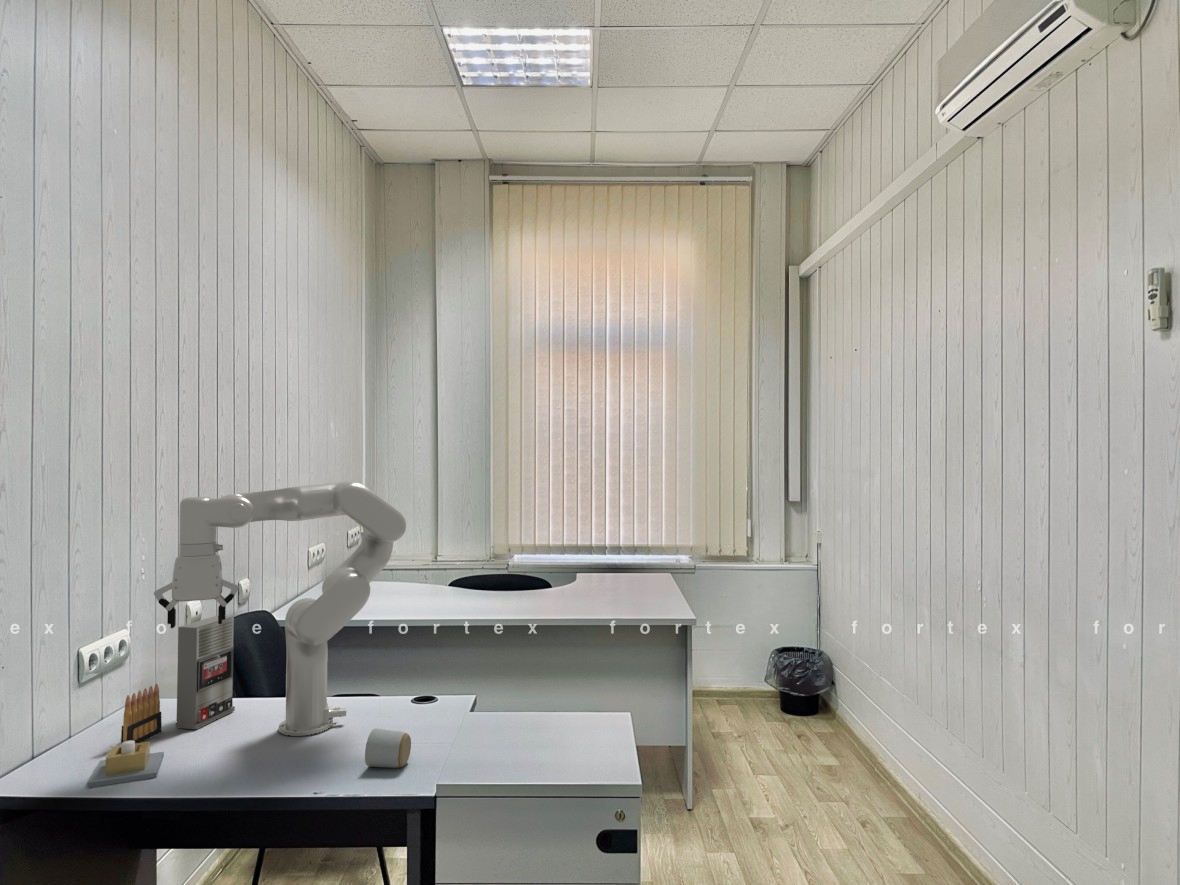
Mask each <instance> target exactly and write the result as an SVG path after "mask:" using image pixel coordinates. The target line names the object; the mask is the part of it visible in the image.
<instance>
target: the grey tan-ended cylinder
mask: <svg viewBox="0 0 1180 885" xmlns="http://www.w3.org/2000/svg"><path fill="white" fill-rule="evenodd" d="M411 749H412V739H411V736H410V734H409V733H407V732H404V731H400V730H390V729H383V728H376V727H375V728H373V729H372V730H371V732H369V735H368V737H367V741H366V744H365V752H364V762H365V765H366V766H367V767H371V768H373V767H374V768H392V769H393V768H394V769H395V768H396V769H399V768H403V767H404V766H405V765H406V764H407V763H408V761H409V758H410V754H411Z"/></svg>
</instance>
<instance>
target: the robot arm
mask: <svg viewBox="0 0 1180 885" xmlns="http://www.w3.org/2000/svg"><path fill="white" fill-rule="evenodd" d="M339 516H347V517H348V518H350V519H351V520H353V521H354V522H355V523H357V524H358V525H359V526H361V528H362V531H363V534H362V539H361V542H360V544H359V546H358V547H357V548H356V549H355V550H354V551H353V553H352V554H350V556H348V557H347V558H346V559H345V560H344V561H343V562H342V563H341V564H340V565H338V567H337V568H335V569H334V570H333V571H332V572H330V573H329V574H328V576H326V577H325V579H324V580H323V582H322V585H321V591H322V592H321V593H322V594H321V595H319V597H318V598H317V599H315V598H311V597H305V598H304V597H303V598H301V599H298V600H296V601H295V602H293V603H292V604H291V605H290V606H289V608H288V610H287V611H286V615H285V618H284V631H285V643H286V644H285V646H286V667H285V668H286V670H285V672H286V673H285V719H284V720H283V721H281V722H280V723H279V724H278V732H279V733H280V734H281V735H284V736H288V735H290V736H289V737H303V736H305V737H306V736H311V734H312V735H315V733H316V734H319V732H320V733H322V731H323V732H325V731H327V730H329V729H330V728H332V727H333V725H334V718H338V717H339V718H343V717H346V716H347V708H346V707H344V708H341V707H340V706H337V707H330V706H329V705H328V704H329V703H328V698H327V697H328V653H329V652H328V641H329V640H330V639H332V638H333V637H334V636H335V635H336V634H337V633H339V631H341V630H342V629H343V628H344V627H345V626H346V625H347V624H348V623H349V622H350V621H351V620H352V619H353V618H354V617H355V616H356V615H357V614H359V612H361V610H362V609H363V608H364V607H365V605H366V604H367V602H368V601H369V598H370V595H371V585H370V584H371V582H372V581H373V580H374V579H375V578H376V577H377V576H378V575H379V574H380V572H382V571H383V570H384V569H385V567H386V565H387V564H388V563H389V561H390V559H391V556H392V552H393V548H394V542H396V541H398V540H400V539H401V538H402V537H403V536H404V534H405V533H406V528H407V521H406V519H405V517H404V515H403V513H402V512H400V511H399V510H398V509H397V508H395V507H394V506H392V505H391V504H390V503H388V502H387V501H386V500H384V499H383V498H381V497H380V496H379V495H377V493H376V492H373V491H372V490H371V489H369V487H367V486H365V485H364V484H362V483H359V482H356V481H355V482H353V481H340V482H330V483H322V484H310V485H299V486H291V487H285V488H280V489H271V490H263V491H262V490H261V491H251V492H242V493H232V494H231V493H230V494H226V495H224V496H221V497H219V498H218V497H217V498H214V497H209V496H193V497H192V496H190V497H185V498H182V500H181V501H180V503H179V537H178V538H179V542H178V544H179V549H178V552H179V553H178V556H176V557H175V560H174V564H173V571H172V582H169V583H168V584H166V585H164V586H162V587H160V588H158V589H156V590H155V591H154V592H153V595H154V597H155V599H156V600H157V602H158V604H160V606H161V607H163V608H164V609H165V610H166V611H167V625H170V629H174V628H175V627H176V624H177V623H176V621H177V618H176V615H177V613H176V612H177V611H176V610H177V609H176V608H175V606H176V605H177V604H179V602H193V601H194V602H197V601H208V600H209V601H210V600H215V601H216V602H217V603H218V604H219V605H218V609H217V610H218V611H217V614H218V615H217V616H218V624H222V620H225V617H226V616H227V614H226V613H227V612H226V611H227V610H226V609H227V608H226V607H227V605H228V604H229V603H230V602H231V601H232V600H233V599H234V598H235V597H236V594H237V593H238V590H239V588H240V587H239V586H240V585H238V584H236V583H234V582H231V581H229V580H225V579H223V568H222V560H221V556H220V554H217V553H218V552H219V551H223V550H224V544H220V543H217V527H218V528H229V529H230V528H231V529H238V528H239V529H240V528H241V527H242V528H243V527H245V526H246V525H248V524H250V523H256V522H265V521H285V522H286V521H287V522H300V521H306V520H307V521H309V520H314V519H323V518H331V517H339ZM223 587H224V588H227V589H230V592H229V594H227V596H226V597H224V596H223V595H222V593H223ZM170 590H171V598H172V600H171V601H169V600H167V599H166V598H165V596H164V595H163V594H164V593H167V592H168V591H170ZM328 728H329V729H328ZM326 729H327V730H326ZM324 730H325V731H324Z"/></svg>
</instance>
